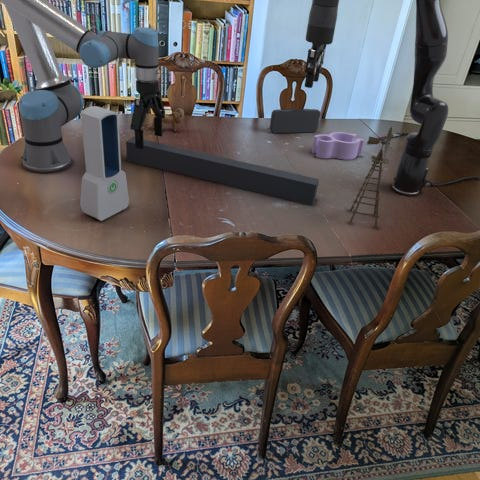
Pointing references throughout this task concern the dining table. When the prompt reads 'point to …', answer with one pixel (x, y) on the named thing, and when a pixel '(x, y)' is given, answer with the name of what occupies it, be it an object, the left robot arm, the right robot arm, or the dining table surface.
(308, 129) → the handheld gaming console
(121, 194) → the electronic device
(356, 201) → the miniature windmill
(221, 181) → the bar
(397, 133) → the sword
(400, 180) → the right robot arm
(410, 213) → the dining table surface
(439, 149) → the dining table surface
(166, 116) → the lion figurine
